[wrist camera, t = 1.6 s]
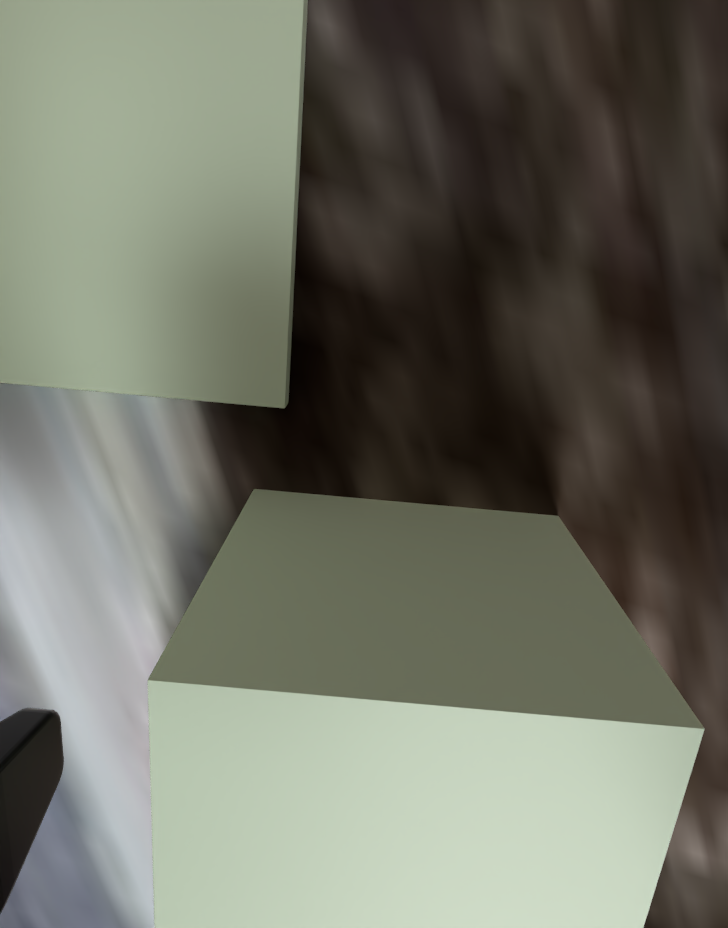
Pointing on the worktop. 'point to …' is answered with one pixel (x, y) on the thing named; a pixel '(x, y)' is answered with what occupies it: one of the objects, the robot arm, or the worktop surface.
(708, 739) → the worktop surface
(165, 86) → the sage swatch
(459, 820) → the sage cube
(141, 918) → the worktop surface
